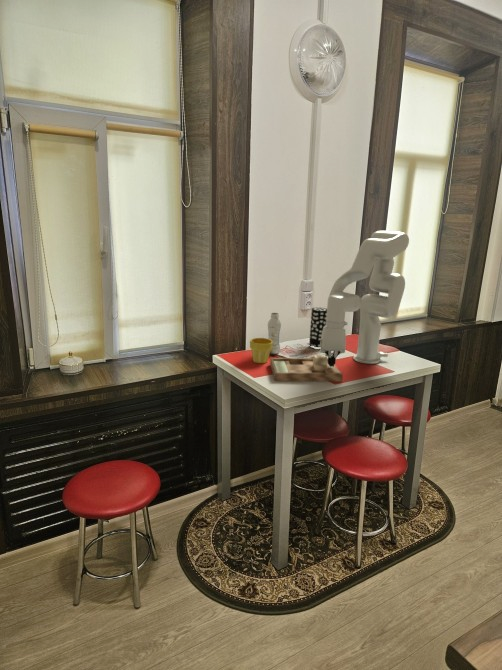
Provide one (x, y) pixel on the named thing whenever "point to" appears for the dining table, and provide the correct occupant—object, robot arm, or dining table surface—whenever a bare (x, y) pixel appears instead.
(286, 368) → the box
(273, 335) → the plastic bottle
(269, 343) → the plant pot
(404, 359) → the dining table surface
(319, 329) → the spotted tube
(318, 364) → the block
